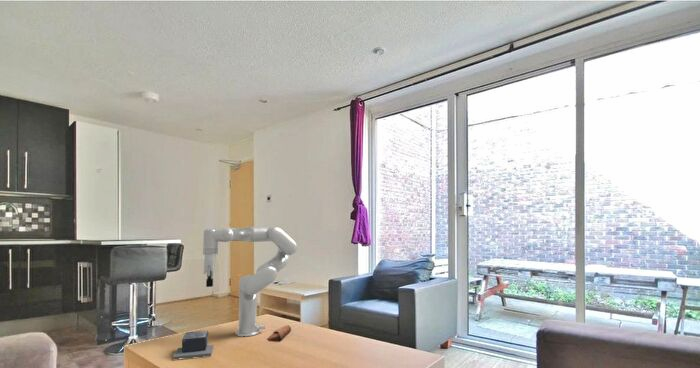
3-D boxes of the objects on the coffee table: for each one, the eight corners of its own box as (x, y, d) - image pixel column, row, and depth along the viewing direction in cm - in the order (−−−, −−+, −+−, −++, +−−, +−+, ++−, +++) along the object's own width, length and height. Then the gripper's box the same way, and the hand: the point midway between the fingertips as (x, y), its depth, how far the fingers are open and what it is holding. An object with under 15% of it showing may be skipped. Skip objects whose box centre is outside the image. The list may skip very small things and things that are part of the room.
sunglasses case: (276, 330, 210) (282, 320, 210) (287, 337, 209) (293, 327, 209) (265, 341, 192) (271, 329, 192) (276, 348, 191) (282, 337, 191)
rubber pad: (213, 348, 182) (213, 344, 182) (210, 356, 171) (211, 353, 171) (177, 351, 178) (178, 348, 178) (172, 360, 167) (173, 356, 167)
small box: (185, 345, 181) (181, 353, 171) (185, 332, 182) (181, 338, 172) (208, 343, 184) (205, 350, 174) (208, 330, 185) (206, 336, 175)
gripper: (204, 250, 207) (203, 284, 205) (201, 253, 193) (200, 289, 191) (218, 250, 209) (218, 283, 207) (216, 252, 195) (215, 288, 193)
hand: (209, 286), depth 199 cm, fingers closed
